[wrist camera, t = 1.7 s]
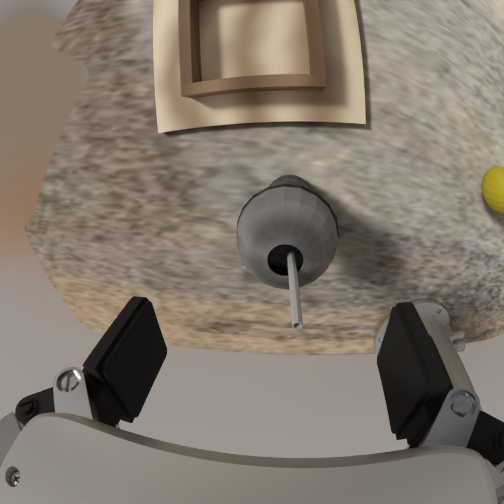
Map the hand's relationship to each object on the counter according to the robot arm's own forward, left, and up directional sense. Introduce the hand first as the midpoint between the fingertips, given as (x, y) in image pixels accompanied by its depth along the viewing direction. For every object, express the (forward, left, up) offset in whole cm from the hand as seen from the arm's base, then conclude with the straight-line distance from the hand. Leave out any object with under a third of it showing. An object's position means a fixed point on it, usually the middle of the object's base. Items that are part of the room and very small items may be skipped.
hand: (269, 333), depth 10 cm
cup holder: (+3, -18, -22) cm, 28 cm away
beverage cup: (0, 0, -22) cm, 22 cm away
